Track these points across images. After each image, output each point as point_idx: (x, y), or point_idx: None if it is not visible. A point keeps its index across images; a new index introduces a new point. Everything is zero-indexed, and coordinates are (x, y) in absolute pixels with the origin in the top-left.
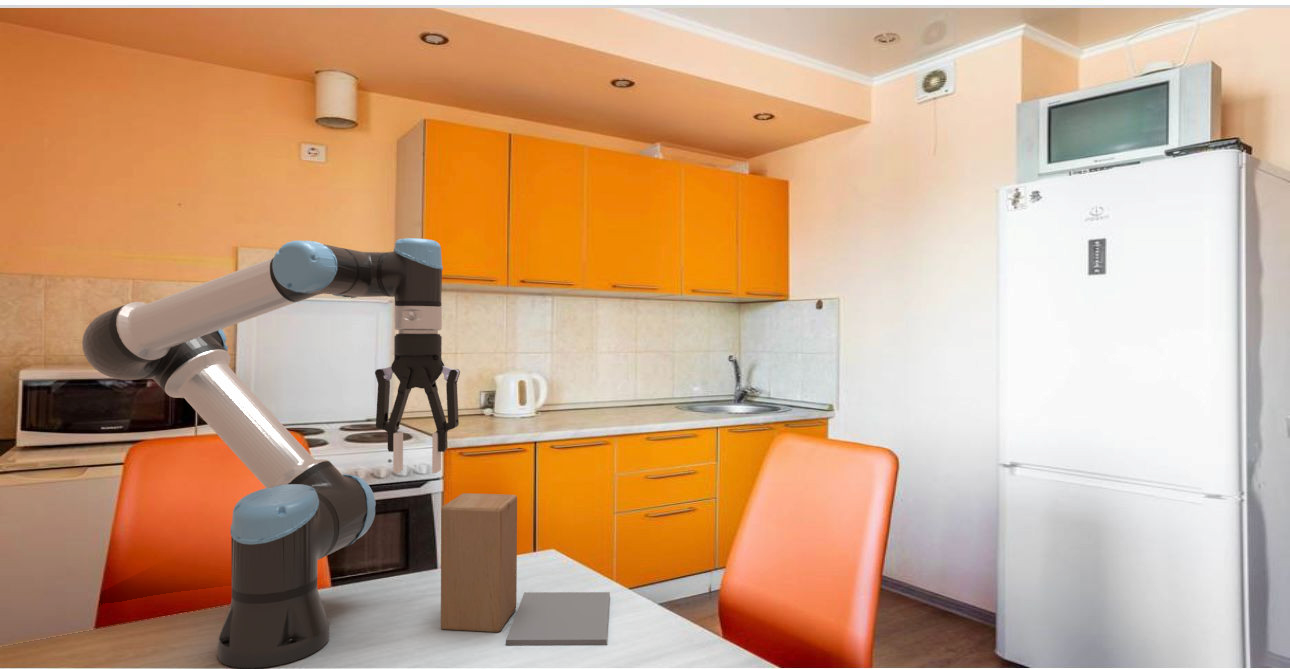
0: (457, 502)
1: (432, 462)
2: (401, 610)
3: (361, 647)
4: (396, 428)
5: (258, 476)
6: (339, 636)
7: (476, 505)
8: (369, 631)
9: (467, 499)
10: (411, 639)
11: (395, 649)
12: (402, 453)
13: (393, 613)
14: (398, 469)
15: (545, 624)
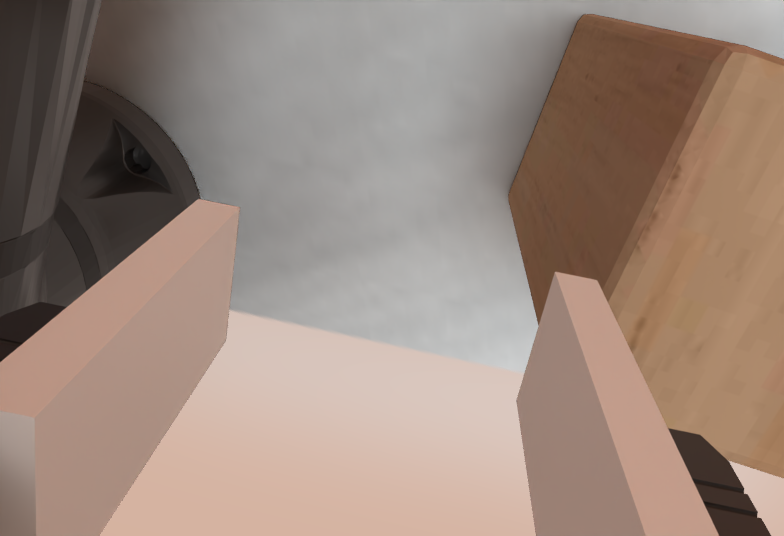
0: (662, 339)
1: (526, 458)
2: (371, 5)
3: (301, 267)
4: None
5: None
6: (223, 183)
7: (768, 435)
8: (300, 165)
9: (738, 275)
10: (427, 246)
11: (391, 297)
12: (181, 283)
13: (348, 29)
14: (219, 338)
15: None
